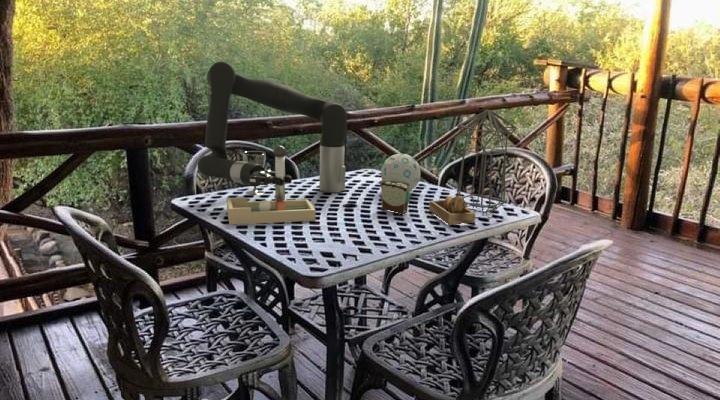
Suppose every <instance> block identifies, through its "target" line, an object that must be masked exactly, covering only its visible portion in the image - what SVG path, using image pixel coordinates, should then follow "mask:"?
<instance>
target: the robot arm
mask: <svg viewBox="0 0 720 400" xmlns="http://www.w3.org/2000/svg"><path fill="white" fill-rule="evenodd" d="M206 81H207V83H208V86H209V87H210V102H209V109H208V110H209V111H208V115H207V120H206V126H205V127H206V128H205V136H204V137H205V138H204V146H205V148H207V149H209V150H210V151H211V153H212V155H208V154H207V155H204V156H202V157H200V158H199V159H198V162H197V163H196V164H197V169H198V172H199V173H200V174H201V175H203V176H205V177H206V176H207V177H213V178H219V179H224V180H227V181H230V182H234V183H238V184H241V185H244V186H245V185H246V186H251V187H253V188H254V187H256V188H257V187H259V186H269V185H271V186H273V185H274V186H275V185H280V186H282V185H284V179H283V178H278V177H275V170H274V171H273V170H270V169H265V167H264V168H263V166H262V165H260V164H256V163H251V162H246V161H244V160H236V159H229V155H228V153H227V146H226V145H227V144H226V143H227V133H228V119H229V105H230V99H231V95H234V96H238V97H242V98H245V99H247V100H250V101H253V102H255V103H257V104H260V105H263V106H265V107H268V108H272V109H275V110H277V111H281V112H285V113H289V114H296V115H301V116H305V117H308V118H311V119H313V120H315V121H317V122H320V123H322V124H321V137H320V139H319V191H321V192H324V193H340V192H346V165H345V145H346V144H345V141H346V139H347V131H348V130H347V129H348V127H347V126H348V123H347V122H348V115H347V110H346V108H345V107H344V106H343V105H342V104H340V103H338V102H336V101H330V100H325V99H321V98H316V97H313V96H310V95H308V94H306V93H303V92H302V91H300V90H298V89H295V88H293V87H291V86H288V85H286V84H282V83H279V82H276V81H273V80H269V79H268V80H267V79H260V78H259V79H258V78H252V77H248V76H244V75H242V74H239V73H237V72H236V70H235V68H234V67H233V65H232V64H231V63H229V62H227V61H222V60H220V61H216V62H215V63H213V64H212V65H210V68H209V70H208V71H207V74H206ZM292 180H293V179H292V176H289V175H286V172H285V184H292Z"/></svg>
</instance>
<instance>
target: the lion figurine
mask: <svg viewBox="0 0 720 400" xmlns="http://www.w3.org/2000/svg"><path fill="white" fill-rule="evenodd" d="M463 197H464V196H463V195H460V196H459V195H458V196H457V197H456V196H454V197H453V196H447V197H446V198H445V199H444V200H445V202H444V209H445V210H446V209H448V212H449V213H451V214H456V213H460V211H462V208H464V209H465V208H467V207H466V206H468V205H469V204H468V203H469V202H468V203H466V202H467V201H466V200H465V199H464V198H463Z"/></svg>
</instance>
